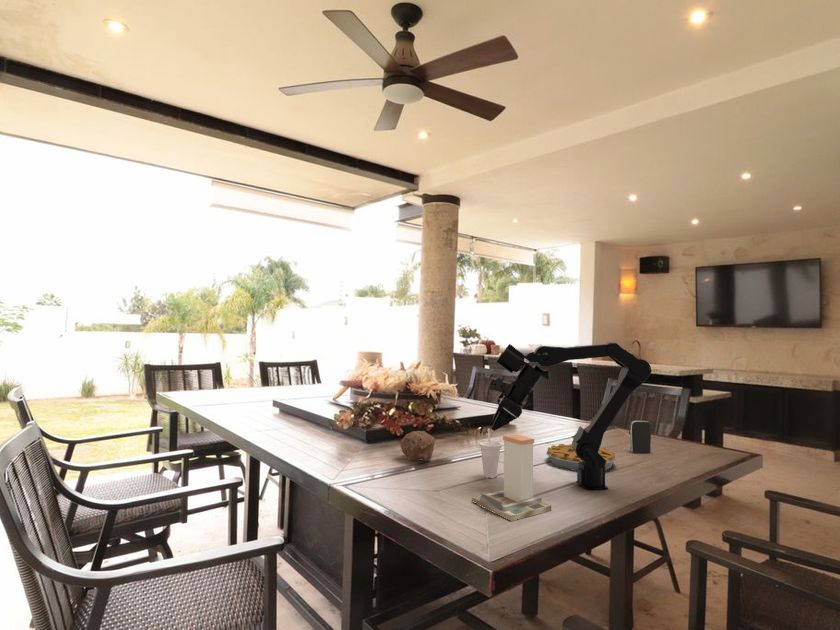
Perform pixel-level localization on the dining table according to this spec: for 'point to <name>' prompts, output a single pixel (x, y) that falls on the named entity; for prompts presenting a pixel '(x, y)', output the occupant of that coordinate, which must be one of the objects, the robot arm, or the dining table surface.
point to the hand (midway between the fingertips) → (492, 426)
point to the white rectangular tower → (518, 467)
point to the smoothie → (490, 457)
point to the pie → (575, 456)
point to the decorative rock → (418, 445)
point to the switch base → (511, 505)
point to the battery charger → (640, 436)
